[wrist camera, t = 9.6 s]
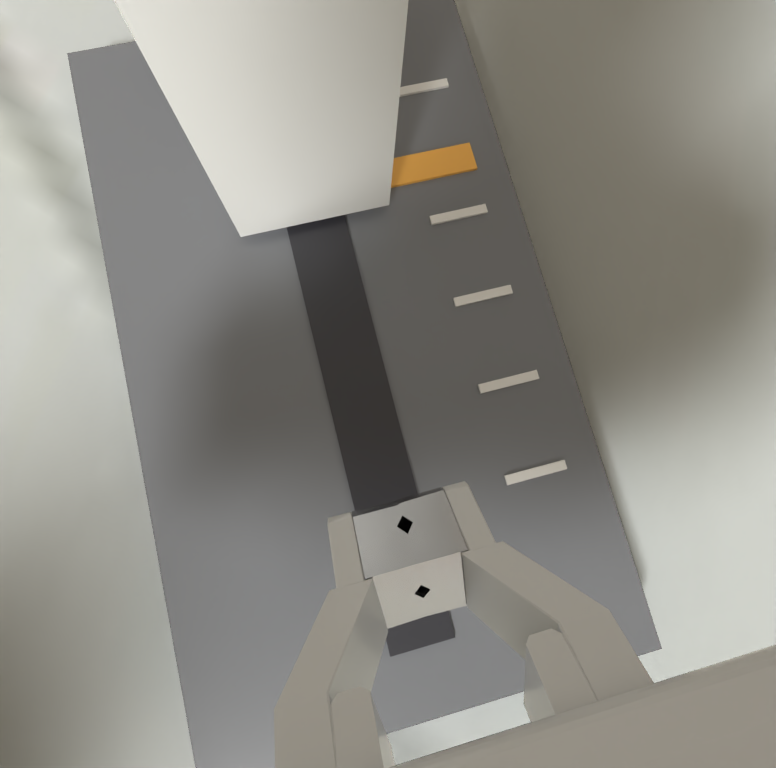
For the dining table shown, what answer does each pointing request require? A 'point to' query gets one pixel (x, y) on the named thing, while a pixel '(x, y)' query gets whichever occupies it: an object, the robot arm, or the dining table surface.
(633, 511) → the dining table surface
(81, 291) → the dining table surface
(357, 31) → the fader tab
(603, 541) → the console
